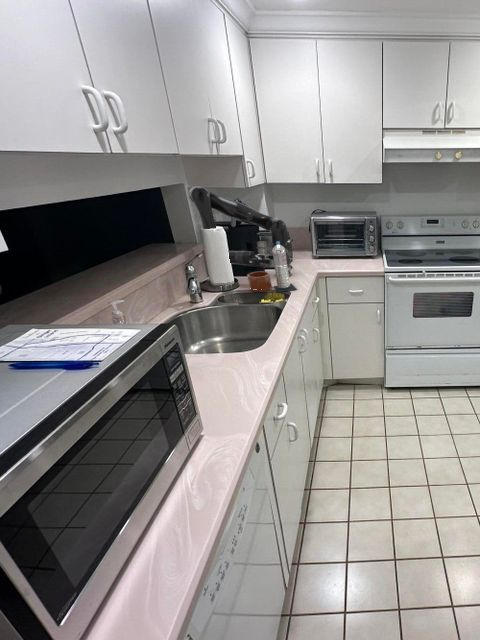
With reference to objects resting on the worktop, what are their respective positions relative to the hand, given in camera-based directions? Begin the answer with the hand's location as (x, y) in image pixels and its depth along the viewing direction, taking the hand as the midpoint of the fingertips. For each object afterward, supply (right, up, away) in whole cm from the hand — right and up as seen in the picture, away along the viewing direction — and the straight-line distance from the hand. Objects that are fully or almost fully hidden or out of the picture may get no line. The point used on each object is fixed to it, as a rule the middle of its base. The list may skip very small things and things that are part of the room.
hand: (272, 259), depth 206 cm
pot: (-9, -14, +8) cm, 19 cm away
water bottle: (+4, -14, +7) cm, 16 cm away
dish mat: (+5, -14, +7) cm, 17 cm away
